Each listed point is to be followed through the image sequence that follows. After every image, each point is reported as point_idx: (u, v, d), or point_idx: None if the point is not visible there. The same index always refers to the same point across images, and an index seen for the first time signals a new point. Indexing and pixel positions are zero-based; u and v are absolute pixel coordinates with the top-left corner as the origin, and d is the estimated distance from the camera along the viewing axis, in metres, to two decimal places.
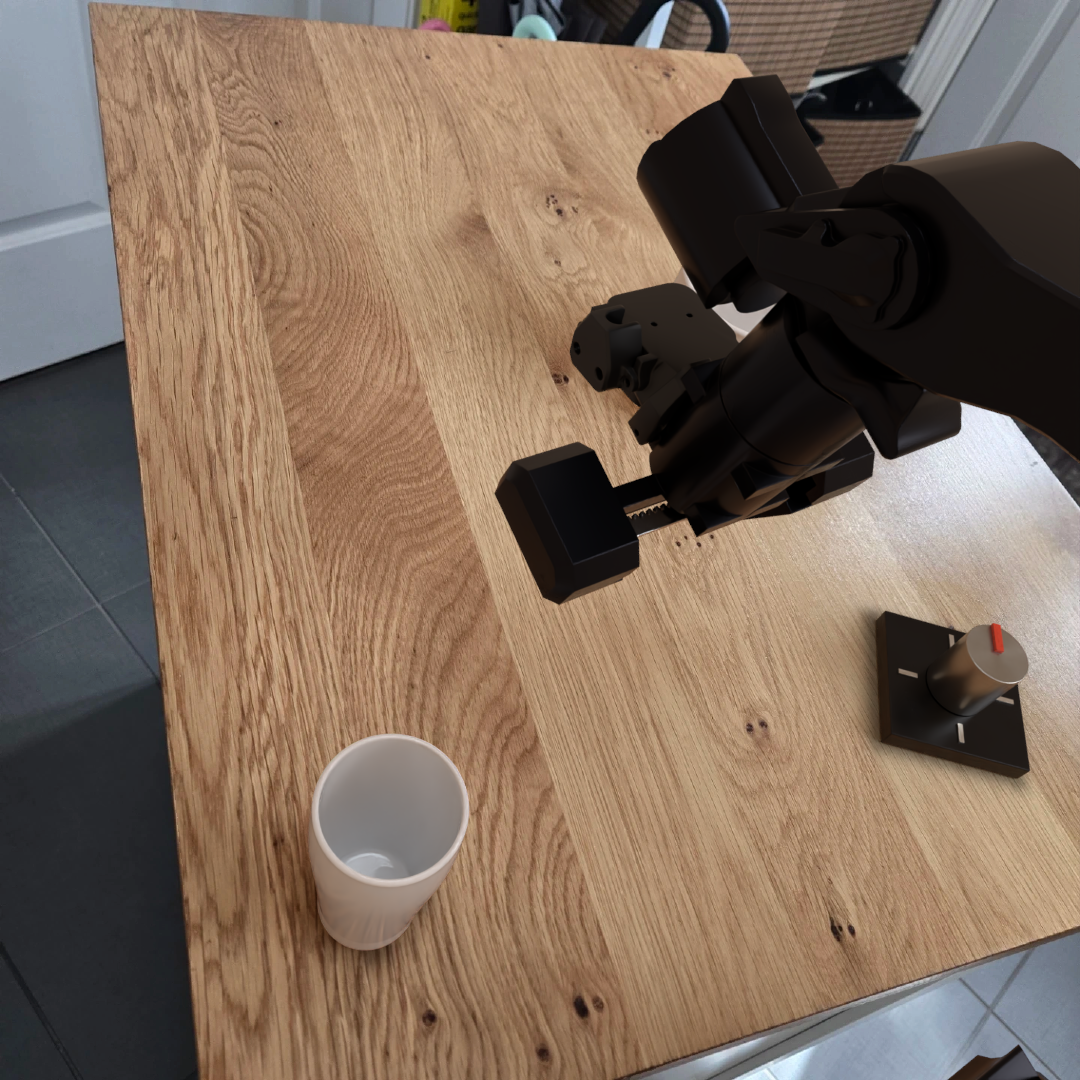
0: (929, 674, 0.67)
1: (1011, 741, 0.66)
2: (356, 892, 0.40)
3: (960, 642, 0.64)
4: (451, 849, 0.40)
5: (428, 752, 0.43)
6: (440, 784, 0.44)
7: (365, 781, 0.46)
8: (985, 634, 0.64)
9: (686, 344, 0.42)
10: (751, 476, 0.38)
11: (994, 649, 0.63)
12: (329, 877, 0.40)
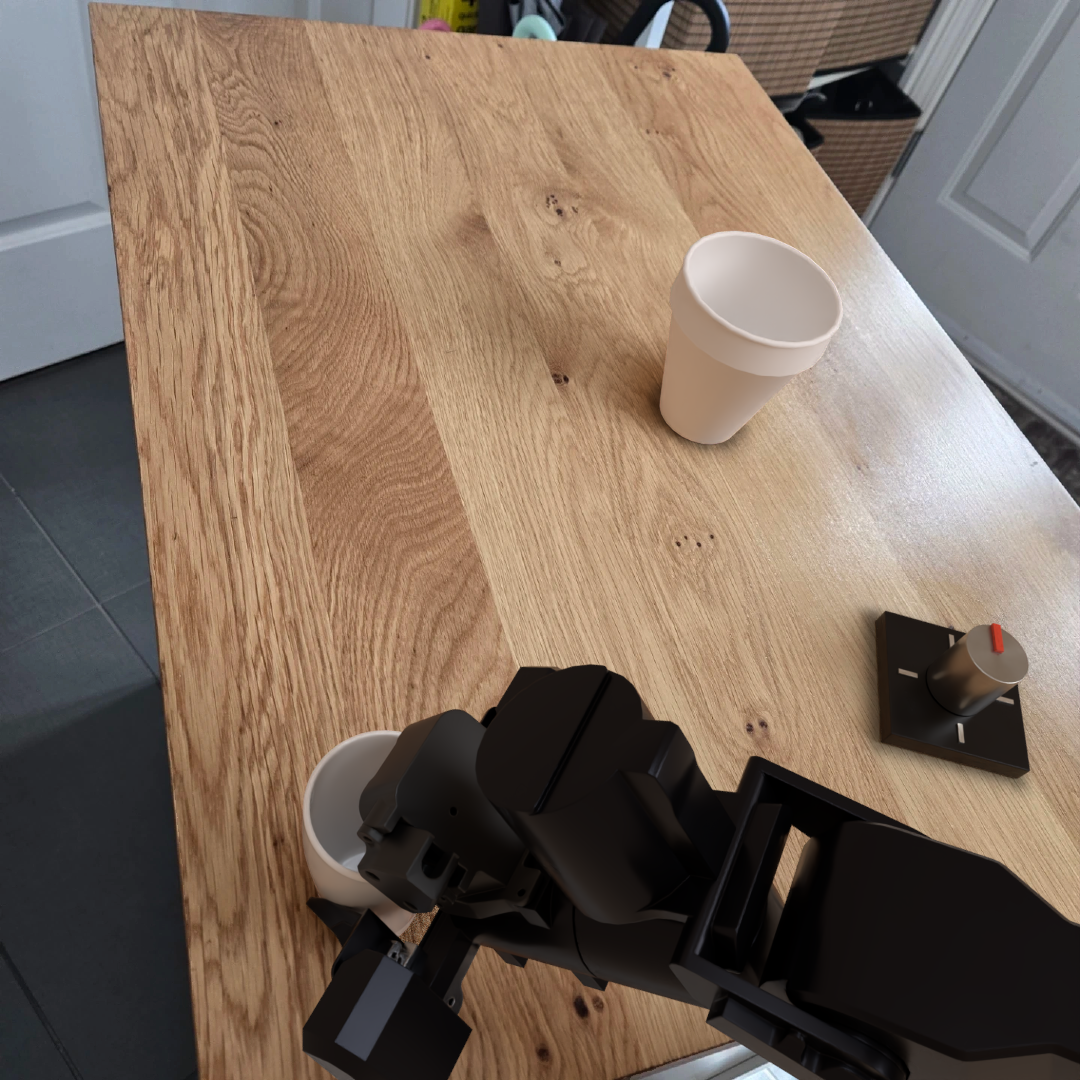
0: (929, 674, 0.67)
1: (1011, 741, 0.66)
2: (349, 889, 0.40)
3: (960, 642, 0.64)
4: None
5: None
6: None
7: (360, 778, 0.46)
8: (985, 634, 0.64)
9: (493, 824, 0.36)
10: (597, 983, 0.37)
11: (994, 649, 0.63)
12: (322, 874, 0.40)
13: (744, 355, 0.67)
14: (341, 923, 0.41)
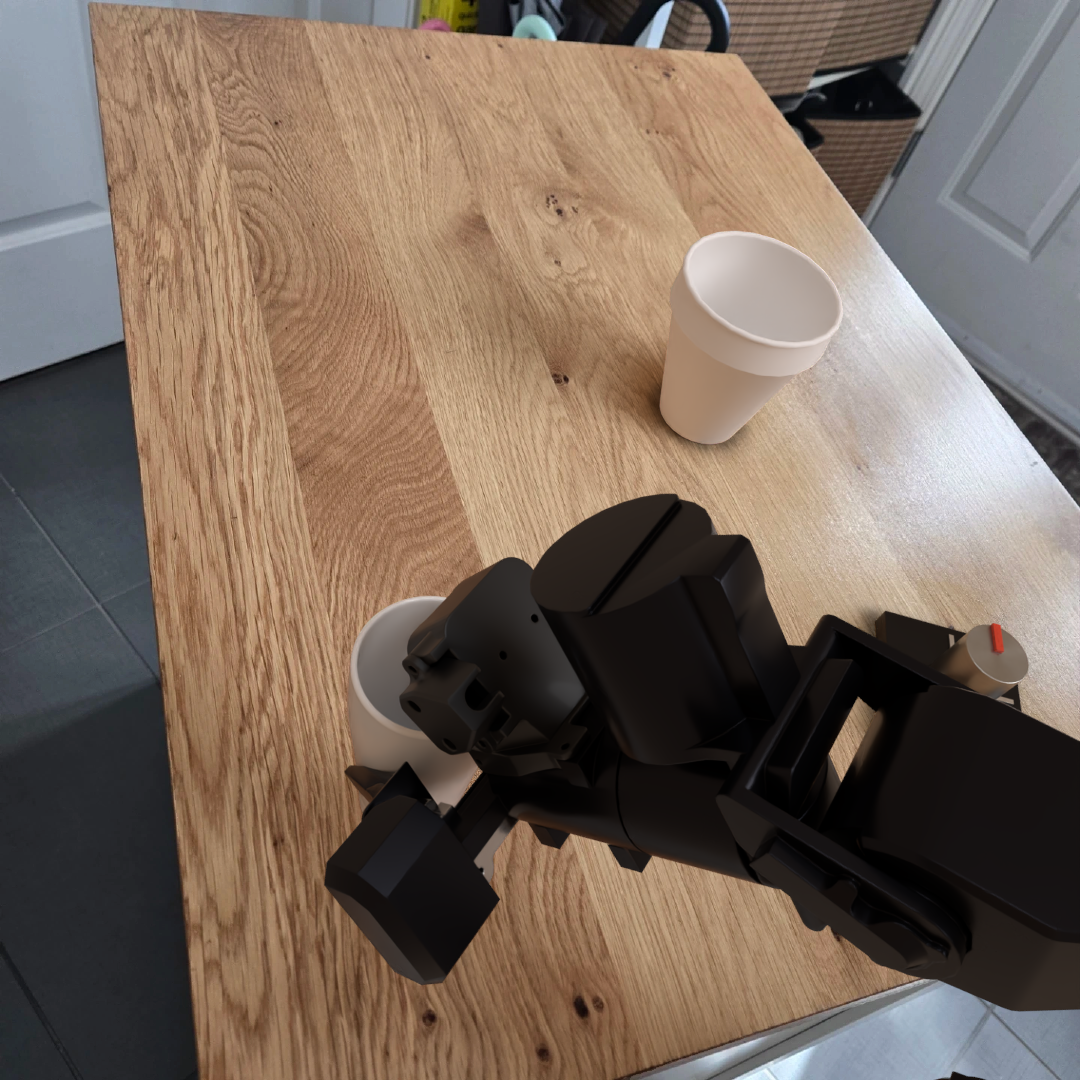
0: None
1: None
2: (388, 746, 0.39)
3: (960, 642, 0.64)
4: None
5: None
6: None
7: None
8: (985, 634, 0.64)
9: (543, 678, 0.34)
10: (635, 861, 0.35)
11: (994, 649, 0.63)
12: (363, 729, 0.39)
13: (744, 355, 0.67)
14: (377, 784, 0.40)
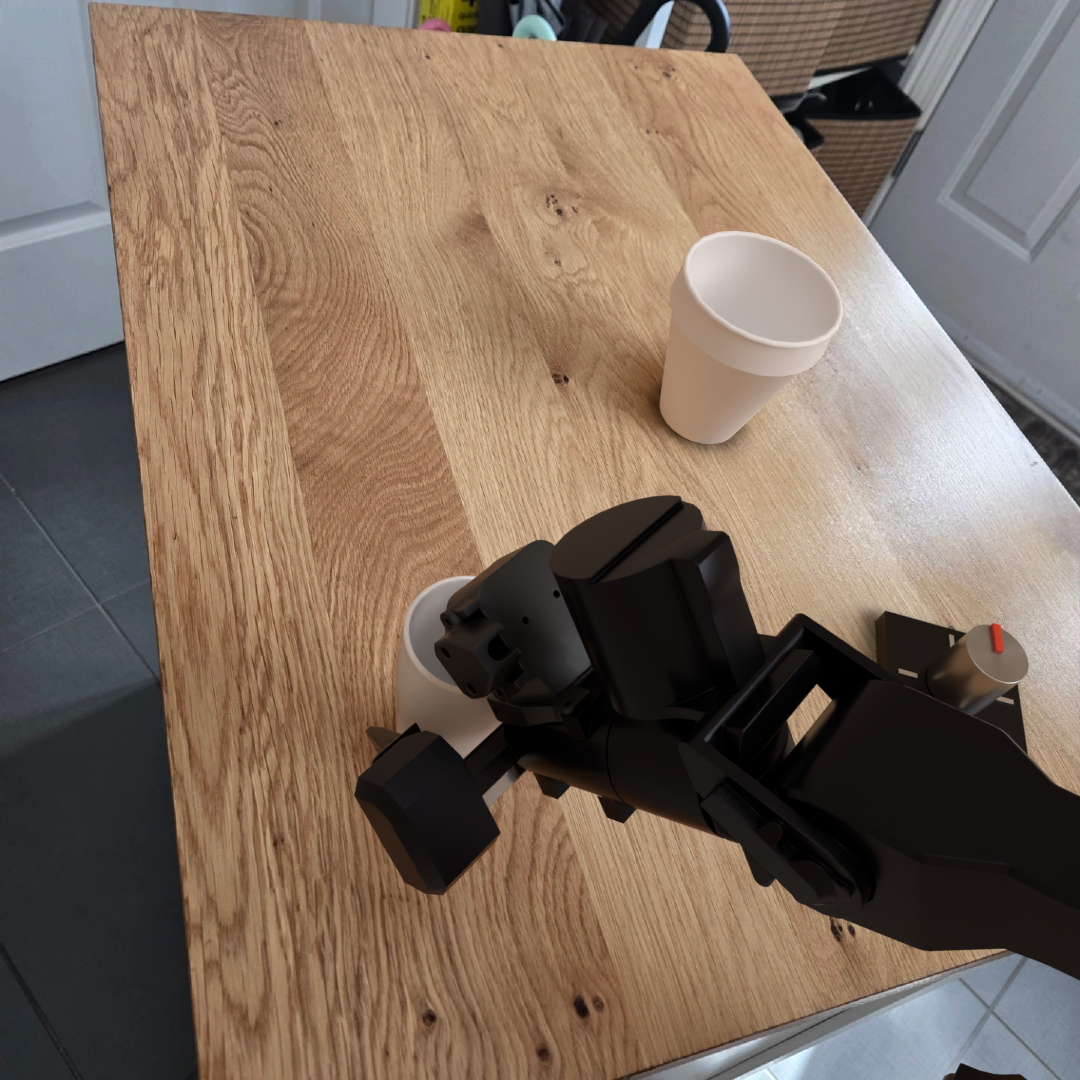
0: (929, 674, 0.67)
1: None
2: (427, 696, 0.45)
3: (960, 642, 0.64)
4: None
5: None
6: None
7: None
8: (985, 634, 0.64)
9: (557, 644, 0.40)
10: (619, 812, 0.40)
11: (994, 649, 0.63)
12: (407, 680, 0.46)
13: (744, 355, 0.67)
14: (390, 742, 0.45)
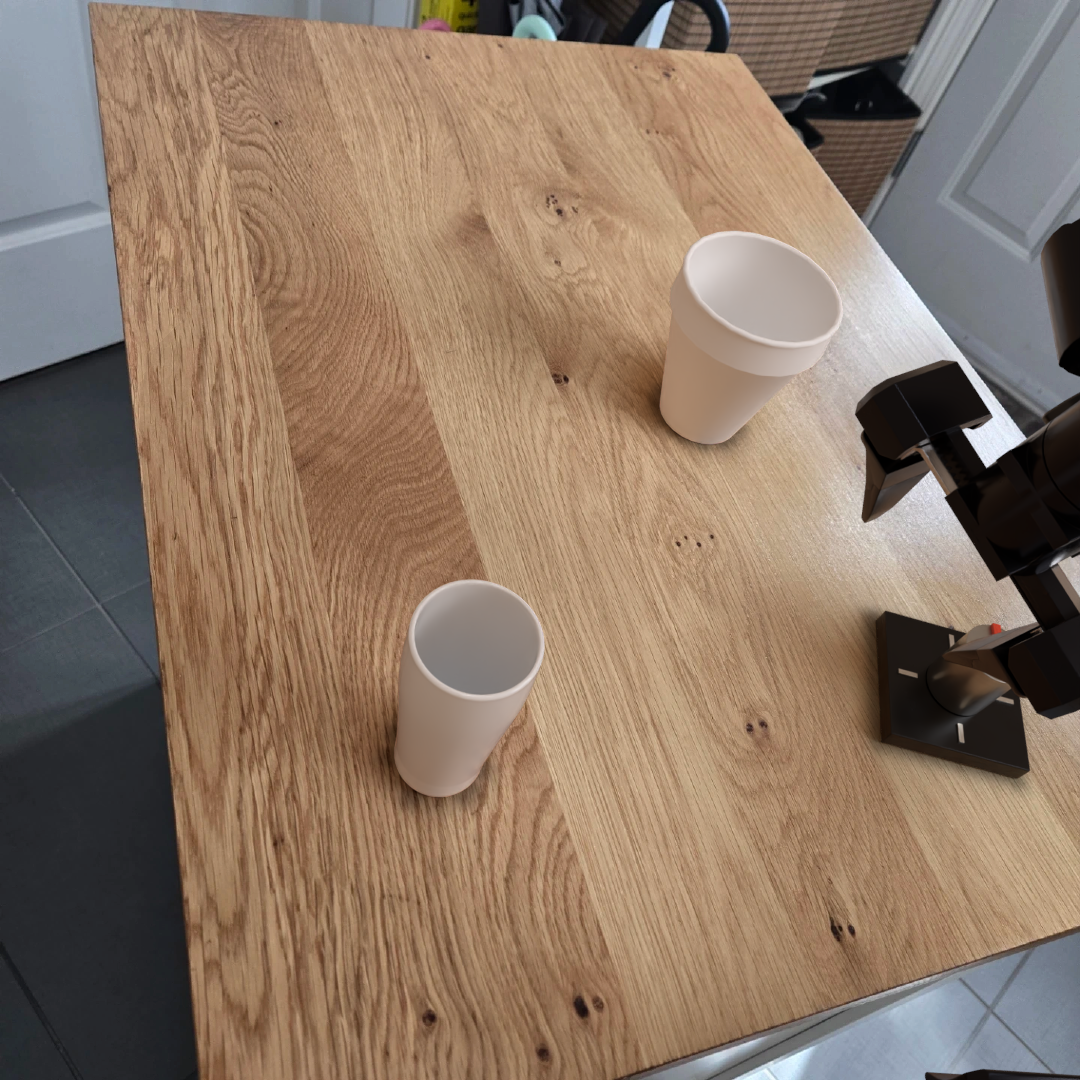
0: (929, 674, 0.67)
1: (1011, 741, 0.66)
2: (431, 701, 0.45)
3: (960, 642, 0.64)
4: (519, 683, 0.45)
5: (518, 606, 0.48)
6: (523, 642, 0.49)
7: (459, 631, 0.52)
8: (985, 634, 0.64)
9: None
10: (1019, 446, 0.44)
11: None
12: (412, 684, 0.46)
13: (744, 355, 0.67)
14: None
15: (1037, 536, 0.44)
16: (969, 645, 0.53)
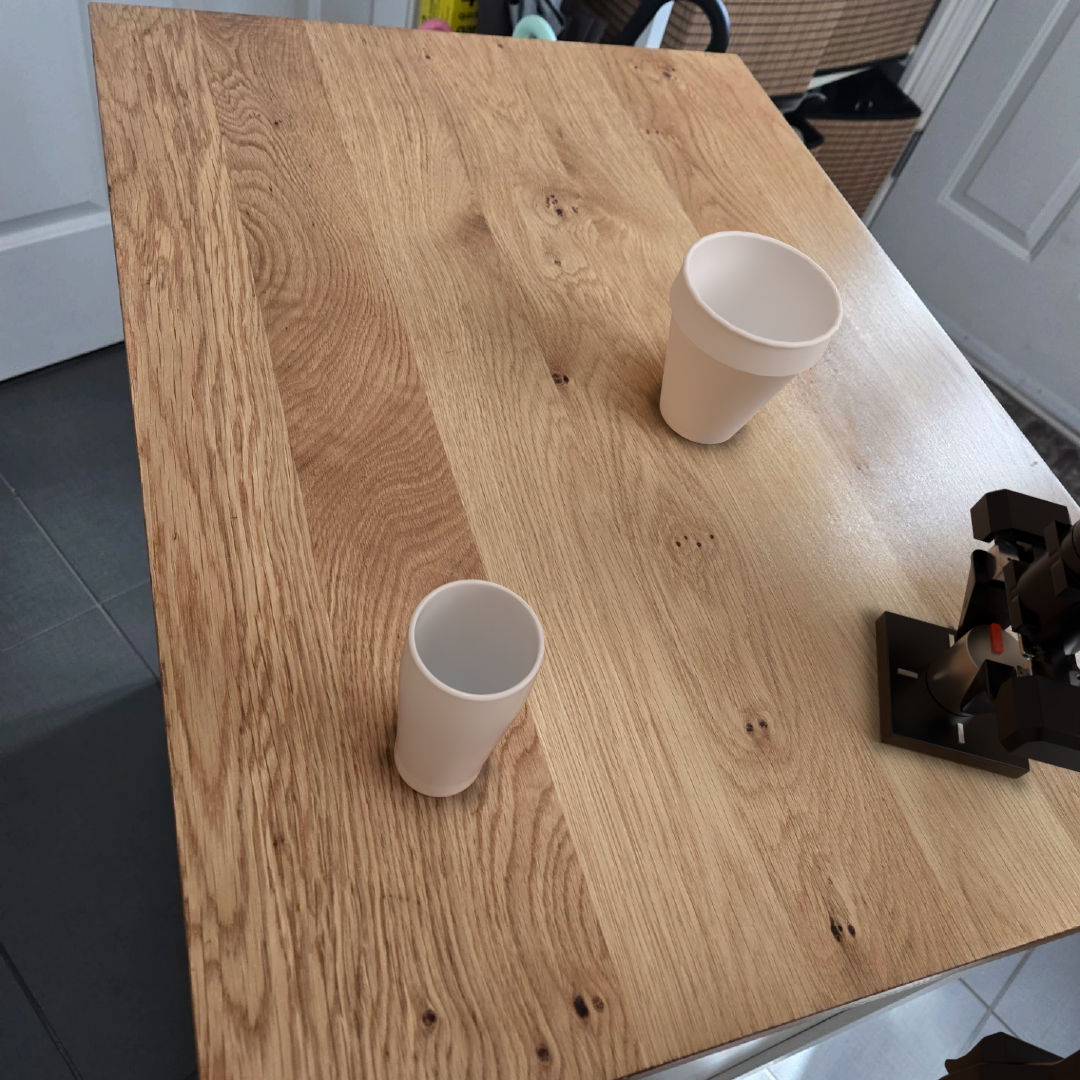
0: (929, 674, 0.67)
1: None
2: (431, 701, 0.45)
3: (960, 642, 0.64)
4: (519, 683, 0.45)
5: (518, 606, 0.48)
6: (523, 642, 0.49)
7: (459, 631, 0.52)
8: (985, 634, 0.64)
9: None
10: (1064, 523, 0.56)
11: (994, 649, 0.63)
12: (412, 684, 0.46)
13: (744, 355, 0.67)
14: None
15: (1051, 592, 0.55)
16: None
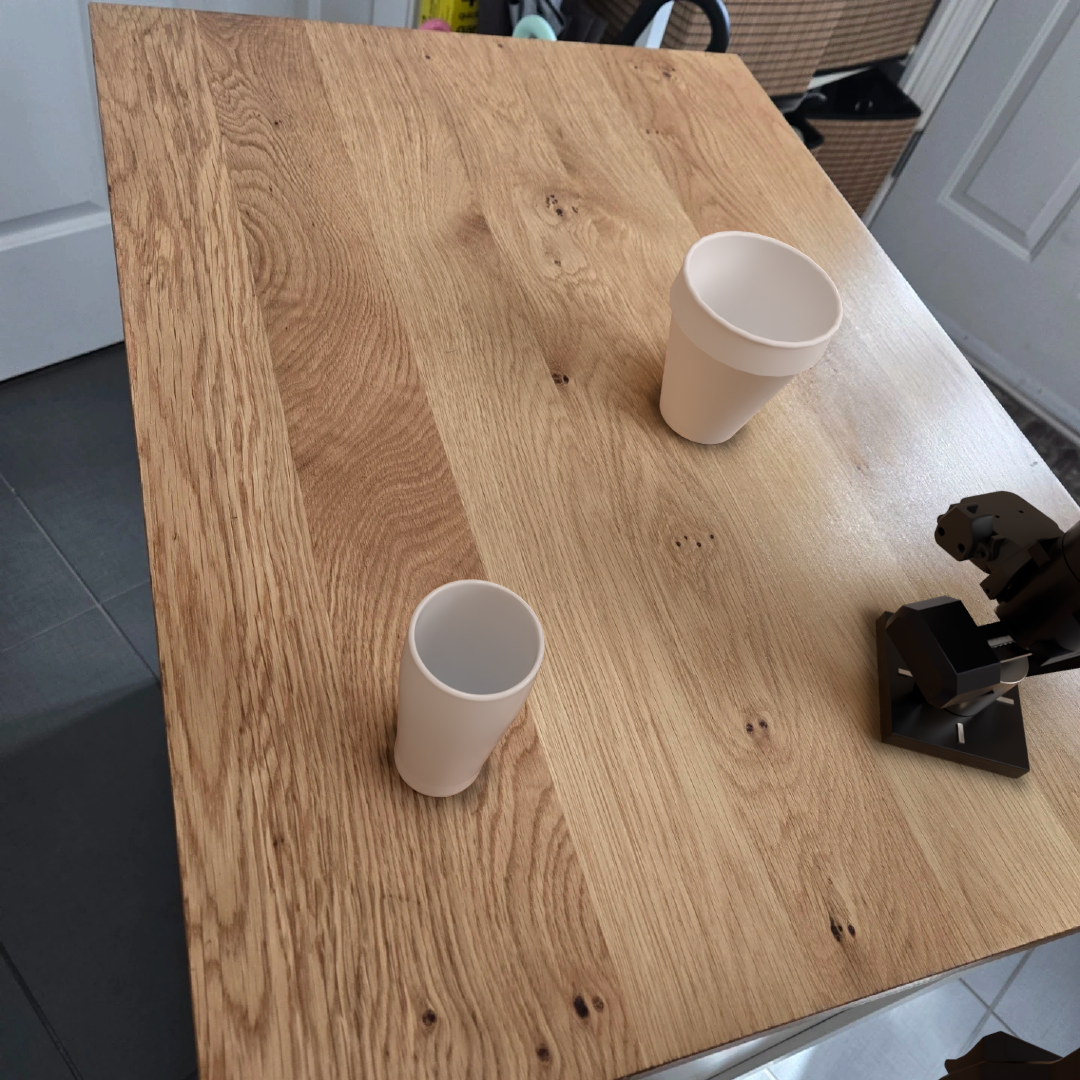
0: (975, 712, 0.66)
1: (1011, 741, 0.66)
2: (431, 701, 0.45)
3: (1001, 688, 0.63)
4: (519, 683, 0.45)
5: (518, 606, 0.48)
6: (523, 642, 0.49)
7: (459, 631, 0.52)
8: None
9: (1023, 530, 0.60)
10: None
11: None
12: (412, 684, 0.46)
13: (744, 355, 0.67)
14: None
15: None
16: None
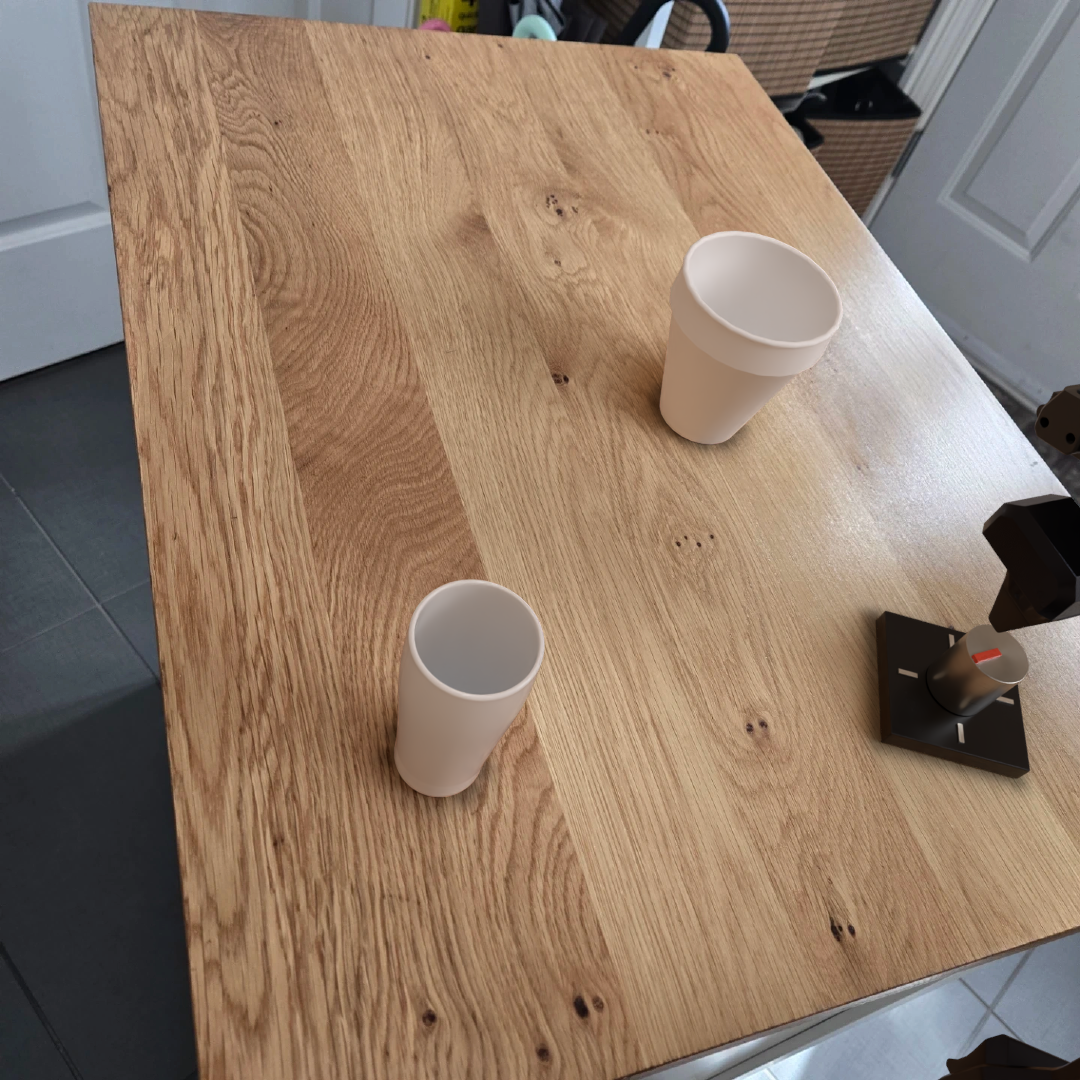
0: (975, 712, 0.66)
1: (1011, 741, 0.66)
2: (431, 701, 0.45)
3: (1001, 688, 0.63)
4: (519, 683, 0.45)
5: (518, 606, 0.48)
6: (523, 642, 0.49)
7: (459, 631, 0.52)
8: (990, 667, 0.63)
9: None
10: None
11: (998, 657, 0.63)
12: (412, 684, 0.46)
13: (744, 355, 0.67)
14: None
15: None
16: None
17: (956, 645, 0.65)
